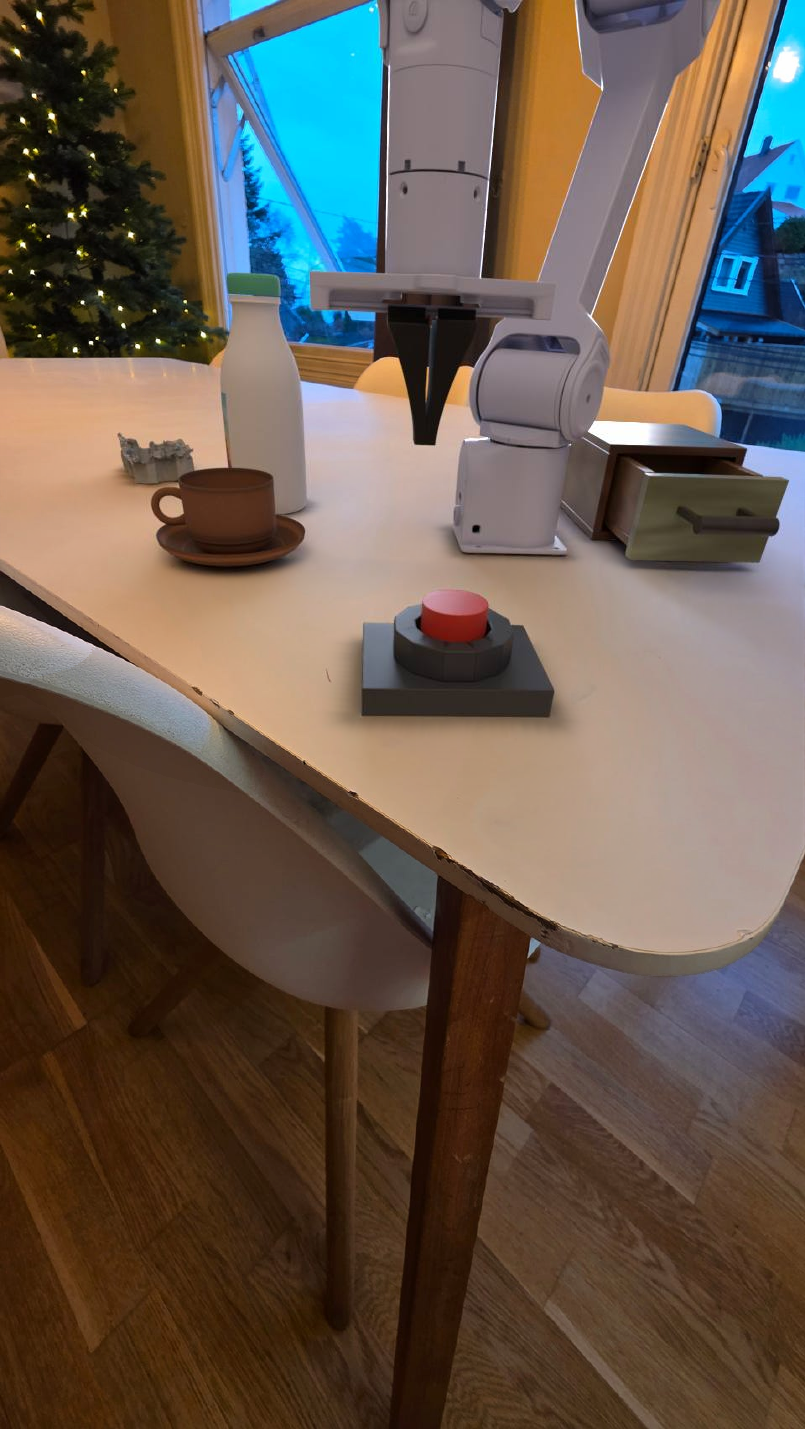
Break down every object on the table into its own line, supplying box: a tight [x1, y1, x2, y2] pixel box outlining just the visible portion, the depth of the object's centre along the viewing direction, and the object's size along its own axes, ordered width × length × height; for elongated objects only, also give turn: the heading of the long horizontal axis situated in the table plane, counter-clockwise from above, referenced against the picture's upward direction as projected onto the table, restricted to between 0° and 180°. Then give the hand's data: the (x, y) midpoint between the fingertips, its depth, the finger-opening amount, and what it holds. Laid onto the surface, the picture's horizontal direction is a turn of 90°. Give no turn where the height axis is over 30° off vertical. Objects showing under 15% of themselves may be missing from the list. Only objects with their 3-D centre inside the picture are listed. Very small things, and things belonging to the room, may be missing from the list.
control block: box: [361, 603, 555, 718], centre depth 35 cm, size 10×8×4 cm
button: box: [421, 589, 490, 642], centre depth 34 cm, size 4×4×2 cm
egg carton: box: [116, 432, 195, 485], centre depth 74 cm, size 11×8×4 cm
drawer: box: [603, 454, 790, 564], centre depth 54 cm, size 17×11×7 cm, turn 3°
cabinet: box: [560, 420, 748, 541], centre depth 64 cm, size 14×13×9 cm
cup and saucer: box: [150, 467, 306, 567], centre depth 51 cm, size 12×12×6 cm
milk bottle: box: [219, 272, 308, 515], centre depth 60 cm, size 8×8×20 cm
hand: (424, 442), depth 42 cm, fingers closed
